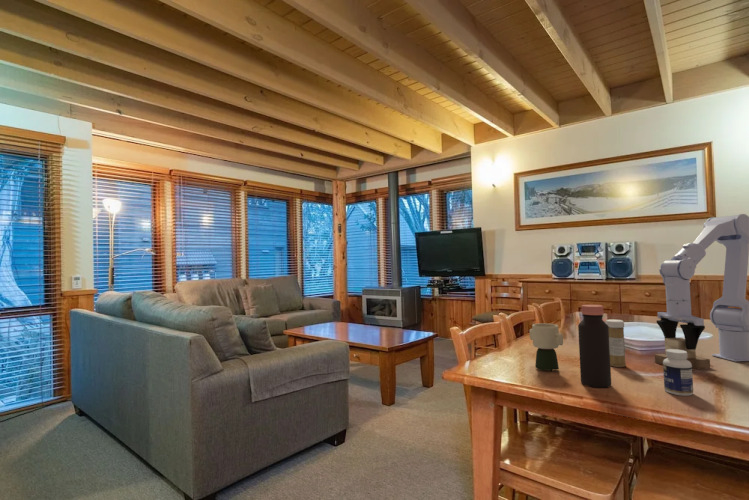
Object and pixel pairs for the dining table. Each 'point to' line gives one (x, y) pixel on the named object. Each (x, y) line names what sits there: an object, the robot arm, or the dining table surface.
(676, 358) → the pill bottle
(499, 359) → the dining table surface
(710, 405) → the dining table surface
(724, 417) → the dining table surface
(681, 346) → the maple cube
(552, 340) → the character mug
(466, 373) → the dining table surface
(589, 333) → the vinegar
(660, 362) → the walnut block
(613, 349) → the sprinkles bottle
